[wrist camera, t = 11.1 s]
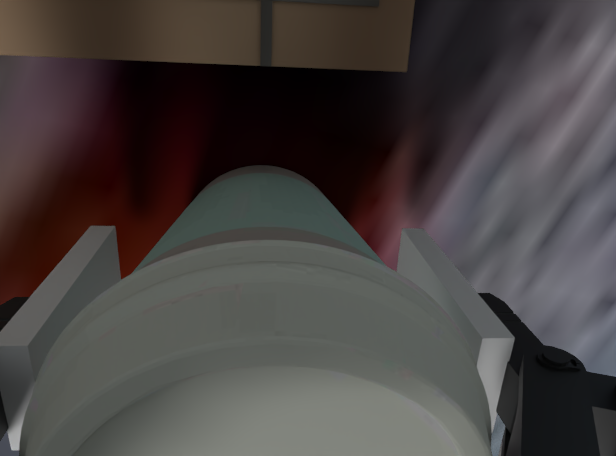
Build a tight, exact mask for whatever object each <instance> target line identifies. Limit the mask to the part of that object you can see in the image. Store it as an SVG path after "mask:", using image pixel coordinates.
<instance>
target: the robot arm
mask: <svg viewBox="0 0 616 456" xmlns="http://www.w3.org/2000/svg"><path fill="white" fill-rule="evenodd" d="M397 273H399V274H401V275H402V276H404V277H406V278H407V279H409V280H410V281H412V282H413V283H415V284H416V285H417V286H419V287H420V288H421V289H423V290H424V291H425V292H426V293H427V294H429V295H430V296H431V297H432V298H433V299H434V300H435V301H436V302H437V303H438V304H439V305H440V306H441V307H442V308H443V309H444V310H445V311H446V312H447V314H448V315H449V316H450V317H451V318H452V320H453V321H454V322H455V324H456V325H457V327H458V328H459V330H460V331H461V333H462V334H463V336H464V338H465V340H466V342H467V344H468V346H469V348H470V350H471V352H472V354H473V357H474V360H475V362H476V366H477V369H478V373H479V375H480V378H481V380H482V383H483V385H484V388H485V392H486V395H487V399H488V403H489V409H490V416H491V431H492V432H493V428H494V424H495V420H496V416H497V413H498V415H499V416H500V418H501V420H502V421H503V423H504V424H505V426H506V427H505V431H504V435H503V439H502V443H501V447H500V451H499V455H498V456H616V377H613V376H608V375H602V374H597V373H591V372H587V371H586V369H585V367H584V365H583V363H582V362H581V361H580V360H578V359H577V358H576V357H575V356H573V355H572V354H570V353H568V352H566V351H564V350H561V349H558V348H555V347H552V346H545V345H543V344H542V343H541V342H540V341H539V340H538V338H537V337H536V336H535V335H534V334H533V333H532V332H531V331H530V330H529V329H528V327H527V326H526V325H525V324H524V323H523V322H521V320H520V319H519V318H518V316H517V315H516V314H514V313H513V311H512V310H511V309H510V308H509V307H508V305H507V304H506V303H505V302H504V301H502V300H500V299H499V298H497V297H495V296H494V295H492V294H490V293H477V292H476V291H475V290H474V288H473V287H472V286H471V285H470V284H469V282H468V281H467V280H466V279H465V278H464V276H463V275H462V274H461V273H460V272H459V270H458V269H457V268H456V267H455V266H454V265H453V263H452V262H451V261H450V260H449V259H448V257H447V256H446V255H445V254H444V253H443V251H442V250H441V249H440V248H439V247H438V245H437V244H436V243H435V242H434V241H433V239H432V238H431V237H430V236H429V235H428V233H427V232H426V231H425V230H424V229H406V228H402V234H401V242H400V250H399V258H398V266H397ZM120 280H121V276H120V267H119V257H118V248H117V238H116V229H115V226H90V228H89V229H88V230H87V231H86V232H85V233H84V235H83V236H82V237H81V238H80V239H79V240H78V242H77V243H76V244H75V245H74V246H73V247H72V249H71V250H70V251H69V252H68V253H67V254H66V256H65V257H64V258H63V259H62V260H61V261H60V263H59V264H58V265H57V266H56V267H55V268H54V270H53V271H52V272H51V273H50V274H49V275H48V277H47V278H46V279H45V280H44V281H43V282H42V284H41V285H40V286H39V287H38V288H37V289H36V291H35V292H34V293H33V294H32V295H31V296H30V297H14V298H12V299H11V300H9V301H7V302H6V303H4V304H2V305H0V441H1V439H2V437H3V436H4V434H5V433H6V431H7V432H8V437H9V440H10V445H11V450H19V443H20V436H21V428H22V424H23V420H24V416H25V412H26V410H27V407H28V404H29V401H30V399H31V396H32V393H33V389H34V385H35V382H36V379H37V376H38V374H39V371H40V369H41V366H42V364H43V362H44V360H45V358H46V356H47V354H48V353H49V351H50V349H51V348H52V346H53V344H54V343H55V341H56V340H57V338H58V337H59V336H60V334H61V333H62V332H63V330H64V329H65V328H66V327H67V326H68V324H69V323H70V322H71V321H72V320H73V319H74V318H75V317H76V316H77V314H78V313H79V312H81V311H82V310H83V309H84V308H85V307H86V306H87V305H88V304H89V303H90V302H91V301H93V300H94V299H95V298H96V297H98V296H99V295H100V294H101V293H103V292H104V291H105V290H107V289H108V288H110V287H111V286H113V285H114V284H116V283H117V282H119V281H120Z"/></svg>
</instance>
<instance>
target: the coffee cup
mask: <svg viewBox="0 0 616 456" xmlns="http://www.w3.org/2000/svg"><path fill="white" fill-rule="evenodd" d="M491 434H492V431H491V416H490V409H489V403H488V399H487V395H486V392H485V388H484V385H483V383H482V380H481V378H480V375H479V373H478V369H477V366H476V362H475V360H474V357H473V354H472V352H471V350H470V348H469V346H468V344H467V342H466V340H465V338H464V336H463V334H462V333H461V331H460V330H459V328H458V327H457V325H456V324H455V322H454V321H453V320H452V318H451V317H450V316H449V315H448V314H447V312H446V311H445V310H444V309H443V308H442V307H441V306H440V305H439V304H438V303H437V302H436V301H435V300H434V299H433V298H432V297H431V296H430V295H429V294H427V293H426V292H425V291H424V290H423V289H421V288H420V287H419V286H417V285H416V284H415V283H413V282H412V281H410V280H409V279H407V278H406V277H404V276H402V275H401V274H399V273H397V272H396V271H394V270H392V269H390V268H388V267H387V266H386V265H385V264H384V263H383V262H382V261H381V260H380V258H379V257H378V256H377V255H376V254H375V253H374V252H373V250H372V249H371V248H370V247H369V246H368V245H367V244H366V242H365V241H364V240H363V239H362V238H361V237H360V236H359V234H358V233H357V232H356V231H355V230H354V229H353V228H352V226H351V225H350V224H349V223H348V222H347V221H346V220H345V218H344V217H343V216H342V215H341V214H340V213H339V212H338V210H337V209H336V208H335V207H334V206H333V205H332V204H331V202H330V201H329V200H328V199H327V198H326V197H325V196H324V195H323V194H322V192H321V191H320V190H319V189H318V188H317V187H316V186H315V185H314V184H312V183H311V182H310V181H309V180H307V179H306V178H304V177H303V176H301V175H299V174H297V173H295V172H293V171H290V170H287V169H284V168H280V167H275V166H267V165H254V166H246V167H241V168H238V169H235V170H232V171H229V172H227V173H225V174H223V175H221V176H219V177H218V178H216V179H215V180H213V181H212V182H211V183H209V184H208V185H207V186H206V187H205V188H204V189H203V190H202V191H201V192H200V193H199V194H198V195H197V197H196V198H195V199H194V200H193V201H192V202H191V203H190V205H189V206H188V207H187V208H186V209H185V211H184V212H183V213H182V214H181V215H180V217H179V218H178V219H177V220H176V221H175V223H174V224H173V225H172V226H171V227H170V228H169V230H168V231H167V232H166V233H165V234H164V236H163V237H162V238H161V239H160V240H159V242H158V243H157V244H156V245H155V246H154V248H153V249H152V250H151V251H150V252H149V254H148V255H147V256H146V257H145V258H144V260H143V261H142V262H141V263H140V264H139V265H138V267H137V268H136V269H135V270H134V271H133V273H132V274H131V275H129V276H127V277H125V278H124V279H122V280H120V281H119V282H117V283H116V284H114V285H113V286H111V287H110V288H108V289H107V290H105V291H104V292H103V293H101V294H100V295H99V296H98V297H96V298H95V299H94V300H93V301H91V302H90V303H89V304H88V305H87V306H86V307H85V308H84V309H83V310H82V311H81V312H79V313H78V314H77V316H76V317H75V318H74V319H73V320H72V321H71V322H70V323H69V324H68V326H67V327H66V328H65V329H64V330H63V332H62V333H61V334H60V336H59V337H58V338H57V340H56V341H55V343H54V344H53V346H52V348H51V349H50V351H49V353H48V354H47V356H46V358H45V360H44V362H43V364H42V366H41V369H40V371H39V374H38V376H37V379H36V382H35V385H34V389H33V393H32V396H31V399H30V401H29V404H28V407H27V410H26V412H25V416H24V420H23V424H22V428H21V436H20V443H19V456H492V452H491Z"/></svg>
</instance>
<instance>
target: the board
mask: <svg viewBox="0 0 616 456" xmlns="http://www.w3.org/2000/svg"><path fill="white" fill-rule="evenodd" d="M414 5H415V0H0V55H17V56H40V57H64V58H87V59H111V60H134V61H158V62H181V63H205V64H229V65H252V66H270V67H271V66H276V67H299V68H323V69H346V70H370V71H393V72H407V65H408V57H409V48H410V39H411V31H412V22H413V13H414Z"/></svg>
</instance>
